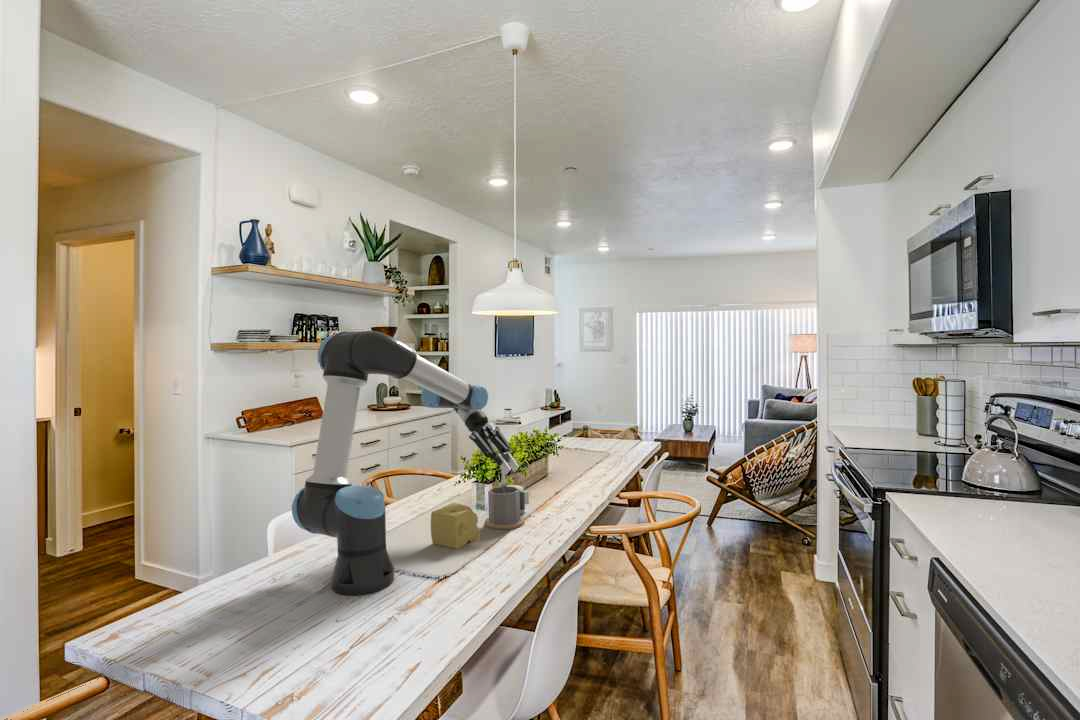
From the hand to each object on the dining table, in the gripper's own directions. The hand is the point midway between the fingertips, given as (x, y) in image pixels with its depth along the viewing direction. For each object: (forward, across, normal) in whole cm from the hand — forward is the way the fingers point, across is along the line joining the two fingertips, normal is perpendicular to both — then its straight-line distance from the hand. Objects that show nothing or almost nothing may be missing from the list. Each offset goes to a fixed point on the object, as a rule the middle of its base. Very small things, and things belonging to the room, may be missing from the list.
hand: (512, 470), depth 182 cm
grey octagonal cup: (+10, 0, -15) cm, 18 cm away
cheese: (+9, +21, -17) cm, 29 cm away
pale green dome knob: (+7, -11, -18) cm, 22 cm away
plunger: (+5, 0, -10) cm, 11 cm away
